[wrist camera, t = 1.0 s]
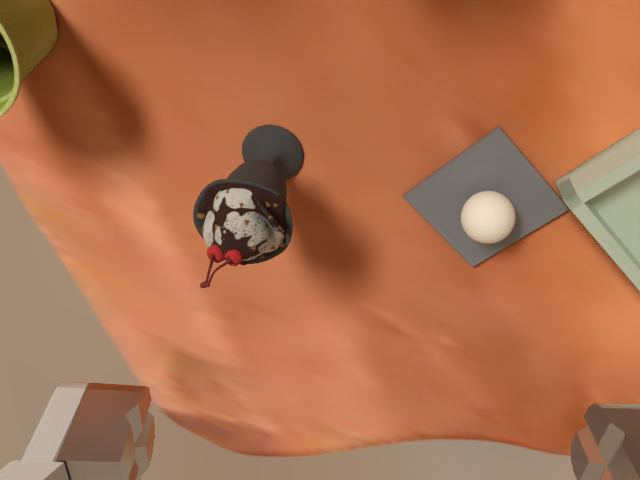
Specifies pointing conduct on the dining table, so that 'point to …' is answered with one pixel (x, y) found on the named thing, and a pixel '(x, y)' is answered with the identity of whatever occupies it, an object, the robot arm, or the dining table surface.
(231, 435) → the dining table surface
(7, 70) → the plant pot
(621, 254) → the tray
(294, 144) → the sundae
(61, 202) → the dining table surface
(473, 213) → the ball
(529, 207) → the coaster
